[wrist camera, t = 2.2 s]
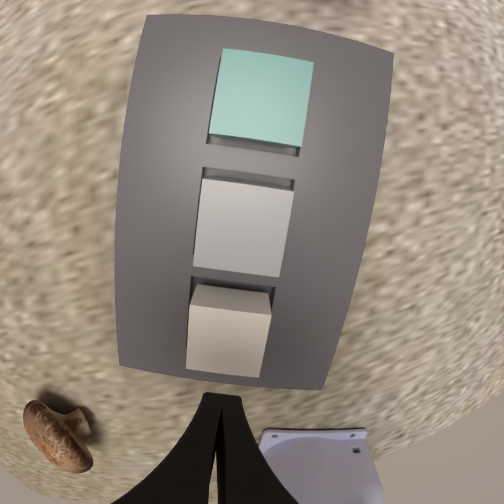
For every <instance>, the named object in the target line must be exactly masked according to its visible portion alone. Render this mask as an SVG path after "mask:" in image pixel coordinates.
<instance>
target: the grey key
mask: <svg viewBox="0 0 504 504" xmlns="http://www.w3.org/2000/svg"><path fill="white" fill-rule="evenodd" d="M293 196H294V191H293V190H291V189H290V188H288V187H287V186H282V185H276V184H269V183H262V182H256V181H249V180H242V179H234V178H227V177H219V176H211V175H209V176H207V177H205V178H203V179H202V186H201V195H200V203H199V212H198V221H197V230H196V240H195V250H194V260H193V266H196V267H203V268H211V269H218V270H225V271H233V272H240V273H248V274H256V275H264V276H271V277H279V275H280V269H281V264H282V259H283V253H284V248H285V242H286V237H287V231H288V225H289V220H290V214H291V208H292V202H293Z"/></svg>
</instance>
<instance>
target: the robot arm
mask: <svg viewBox="0 0 504 504" xmlns="http://www.w3.org/2000/svg"><path fill="white" fill-rule="evenodd" d="M366 435H367V431H366V429H354V430H325V431H299V430H270V429H269V430H265V431H263V433H262V437H261V440H260V444H259V447H258V445H257V443H256V441H255V438H254V436H253V434H252V432H251V429H250V427H249V424H248V422H247V419H246V416H245V413H244V409H243V405H242V400H241V398H240V397H239V396H236V395H227V394H218V393H210V392H206V393H204V394H203V397H202V400H201V403H200V405H199V407H198V409H197V411H196V413H195V415H194V417H193V419H192V421H191V422H190V424H189V426H188V427H187V429H186V431H185V432H184V434H183V435H182V437H181V438H180V439H179V441H178V442H177V444H176V445H175V446H174V448H173V449H172V450H171V451H170V453H169V454H168V455H167V456H166V457H165V458H164V460H163V461H162V462H161V463H160V464H159V465H158V466H157V467H156V468H155V469H154V470H153V471H152V472H151V473H150V474H149V475H148V476H147V477H146V478H145V479H144V480H142V481H141V482H140V483H139V484H137V485H136V486H135V487H134V488H132V489H131V490H130V491H129V492H127V493H126V494H125V495H123V496H122V497H120V498H119V499H117V500H116V501H114V502H113V503H111V504H208V498H209V484H210V479H211V474H212V469H213V464H214V458H215V453H216V461H217V488H218V504H383V490H382V485H381V482H380V479H379V476H378V473H377V471H376V468H375V465H374V462H373V460H372V457H371V454H370V452H369V449H368V446H367V444H366V441H365V437H366Z"/></svg>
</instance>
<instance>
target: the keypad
mask: <svg viewBox="0 0 504 504" xmlns="http://www.w3.org/2000/svg"><path fill="white" fill-rule="evenodd" d="M223 48H225V49H235V50H244V51H252V52H259V53H266V54H272V55H278V56H284V57H290V58H295V59H300V60H305V61H310V62H314V65H313V73H312V80H311V87H310V94H309V101H308V108H307V115H306V121H305V128H304V134H303V141H302V147H297V148H288V147H282V146H276V145H270V144H264V143H257V142H250V141H243V140H235V139H228V138H219V137H214V136H212V135H211V134H209V128H210V122H211V115H212V109H213V103H214V97H215V91H216V85H217V79H218V73H219V68H220V62H221V57H222V52H223ZM393 57H394V53H391V52H389V51H386V50H383V49H380V48H377V47H374V46H371V45H368V44H365V43H361V42H358V41H355V40H351V39H348V38H344V37H340V36H337V35H333V34H329V33H325V32H321V31H316V30H312V29H307V28H302V27H297V26H292V25H287V24H281V23H275V22H268V21H261V20H254V19H246V18H236V17H225V16H211V15H184V14H164V15H147V17H146V20H145V24H144V28H143V32H142V36H141V40H140V44H139V48H138V53H137V57H136V62H135V67H134V71H133V76H132V82H131V87H130V92H129V98H128V104H127V110H126V117H125V124H124V131H123V139H122V147H121V156H120V165H119V176H118V188H117V203H116V223H115V308H116V327H117V342H118V354H119V364H120V365H121V366H125V367H130V368H135V369H140V370H144V371H150V372H155V373H160V374H166V375H172V376H177V377H184V378H190V379H197V380H204V381H211V382H219V383H227V384H236V385H246V386H257V387H269V388H284V389H302V390H322V388H323V385H324V382H325V379H326V376H327V373H328V371H329V368H330V365H331V362H332V359H333V356H334V353H335V350H336V347H337V344H338V340H339V337H340V334H341V331H342V328H343V324H344V321H345V318H346V314H347V311H348V307H349V304H350V300H351V297H352V293H353V289H354V286H355V282H356V278H357V274H358V271H359V267H360V263H361V259H362V254H363V250H364V246H365V242H366V237H367V233H368V229H369V224H370V219H371V215H372V210H373V205H374V200H375V195H376V189H377V184H378V178H379V173H380V167H381V161H382V155H383V148H384V141H385V134H386V127H387V119H388V111H389V102H390V93H391V82H392V71H393ZM209 175H211V176H219V177H227V178H234V179H242V180H249V181H256V182H262V183H269V184H276V185H282V186H287V187H288V188H290V189H291V190H293V191H294V196H293V202H292V208H291V214H290V220H289V225H288V231H287V237H286V242H285V248H284V253H283V259H282V264H281V269H280V275H279V277H271V276H264V275H256V274H248V273H240V272H233V271H225V270H218V269H211V268H203V267H196V266H193V260H194V250H195V240H196V230H197V221H198V212H199V203H200V195H201V186H202V179H203V178H205V177H207V176H209ZM197 284H200V285H208V286H215V287H222V288H230V289H238V290H245V291H253V292H261V293H268V296H269V302H270V308H271V314H272V316H271V321H270V326H269V331H268V336H267V341H266V346H265V351H264V356H263V360H262V365H261V370H260V375H259V378H257V377H247V376H237V375H228V374H220V373H212V372H205V371H198V370H191V369H186V357H187V339H188V323H189V308H190V303H191V300H192V297H193V294H194V291H195V288H196V286H197Z"/></svg>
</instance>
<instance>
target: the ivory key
mask: <svg viewBox="0 0 504 504" xmlns="http://www.w3.org/2000/svg"><path fill="white" fill-rule="evenodd" d="M271 316H272V314H271V308H270V302H269V296H268V293H261V292H253V291H245V290H238V289H230V288H222V287H215V286H208V285H200V284H197V286H196V288H195V291H194V294H193V297H192V300H191V303H190V308H189V323H188V339H187V357H186V369H191V370H198V371H205V372H212V373H220V374H228V375H237V376H247V377H257V378H259V375H260V370H261V365H262V360H263V356H264V351H265V346H266V341H267V336H268V331H269V326H270V321H271Z"/></svg>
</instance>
